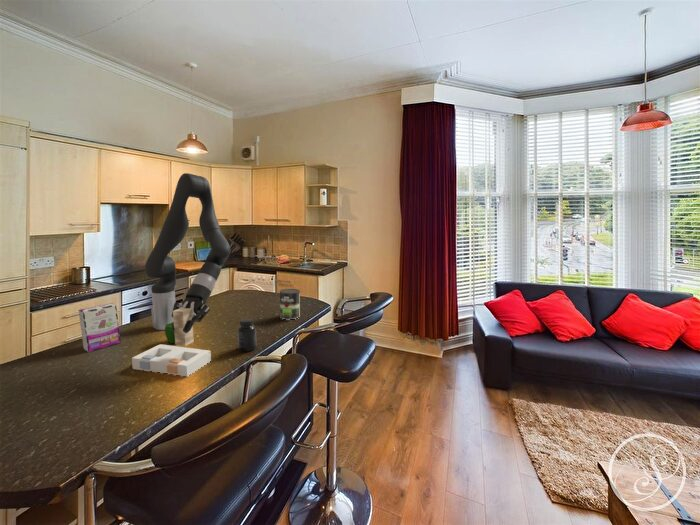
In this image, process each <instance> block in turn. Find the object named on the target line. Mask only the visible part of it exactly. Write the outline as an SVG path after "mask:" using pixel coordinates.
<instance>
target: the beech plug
mask: <svg viewBox="0 0 700 525" xmlns="http://www.w3.org/2000/svg"><path fill="white" fill-rule="evenodd" d="M191 311H192V310H191V308H179V309H177V310H174V311H173V320H174V332H175V343H174V345H175V346H180V347H186V346H189V345H190V344H192V343H194V342H195V341H194V340H195V339H194V326H192V328H191V330H190V331H189V332H188V333H185V332H183V328H184V326H185V325H186V323H187V321H189V316H190V312H191Z"/></svg>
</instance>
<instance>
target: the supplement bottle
mask: <svg viewBox="0 0 700 525" xmlns="http://www.w3.org/2000/svg"><path fill="white" fill-rule="evenodd" d="M237 340H238V341H237V342H238V344H237V345H238V350H239V351H240V352H242V353H249V352H253V351H255V350H256V349H257V345H258V344H257V330H256V326H255V325H254V322H253V319H252V318H249V317H248V318H242V319H240V320H239V327H238V329H237Z"/></svg>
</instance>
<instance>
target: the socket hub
mask: <svg viewBox="0 0 700 525" xmlns="http://www.w3.org/2000/svg"><path fill="white" fill-rule="evenodd" d="M210 361H211V362H212V354H211V350H207V349H199V348H192V347H186V346H178V345H168V344H158V345H156V346H154V347H152V348H149V349H148V350H145V351H143V352H141V353H139V354H137V355H134V356H133V357H131V365H132V366H131V367H132V370H139V371H143V370H144V371H145V372H150V371H152V373H157V372H160V373H159V374H163V373H168V374H167V375H170V374H174V375H173V376H176V375H181V376H180V377H183V376H186V377H185V378H188V377H190V376H191V375H192V373H193V374H194V373H196V372H197V371H199V370H200V369H202V368H203V367H205V366H206V365H208V364H209V363H210ZM207 363H208V364H207ZM204 365H205V366H204ZM201 367H202V368H201ZM198 369H199V370H198ZM195 371H196V372H195ZM190 374H191V375H190ZM189 375H190V376H189Z"/></svg>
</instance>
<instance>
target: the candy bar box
mask: <svg viewBox="0 0 700 525" xmlns="http://www.w3.org/2000/svg"><path fill="white" fill-rule="evenodd" d="M78 317H79V325H80V331H81V339H82V346H83V350H84V351H86V352H88V353H92V352H94V351H98V350H101V349H105V348H109V347H111V346H114V345H119V344H120V343H121V335H120V326H119V318H118V309H117V305H116V304H115V303H110V302H109V303H105V304H100V305H95V306H91V307H87V308H86V307H85V308H81V309H78Z"/></svg>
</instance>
